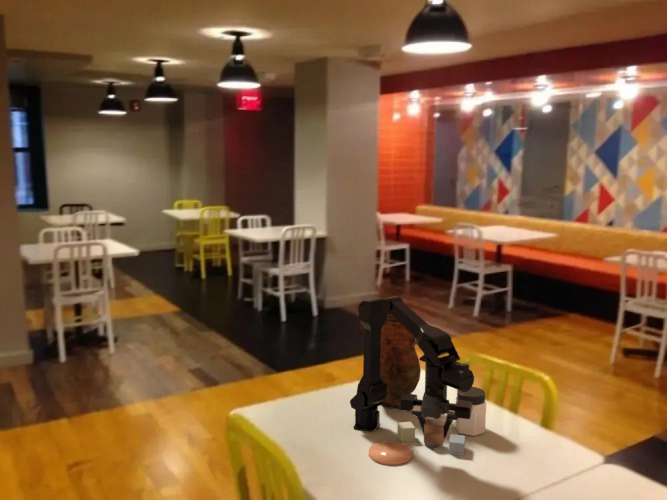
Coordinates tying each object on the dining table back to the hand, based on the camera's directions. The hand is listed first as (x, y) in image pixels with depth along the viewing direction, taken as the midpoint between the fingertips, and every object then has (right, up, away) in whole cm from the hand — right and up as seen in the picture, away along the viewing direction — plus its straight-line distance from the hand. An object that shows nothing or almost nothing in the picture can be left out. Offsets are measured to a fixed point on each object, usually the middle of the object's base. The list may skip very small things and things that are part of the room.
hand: (434, 436), depth 167 cm
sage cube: (-6, -5, +15) cm, 17 cm away
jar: (+14, -4, +20) cm, 24 cm away
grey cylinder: (+1, -6, +10) cm, 12 cm away
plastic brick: (+7, -6, +7) cm, 12 cm away
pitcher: (-9, -1, +41) cm, 42 cm away
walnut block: (0, -1, 0) cm, 1 cm away
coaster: (-11, -6, +5) cm, 14 cm away
